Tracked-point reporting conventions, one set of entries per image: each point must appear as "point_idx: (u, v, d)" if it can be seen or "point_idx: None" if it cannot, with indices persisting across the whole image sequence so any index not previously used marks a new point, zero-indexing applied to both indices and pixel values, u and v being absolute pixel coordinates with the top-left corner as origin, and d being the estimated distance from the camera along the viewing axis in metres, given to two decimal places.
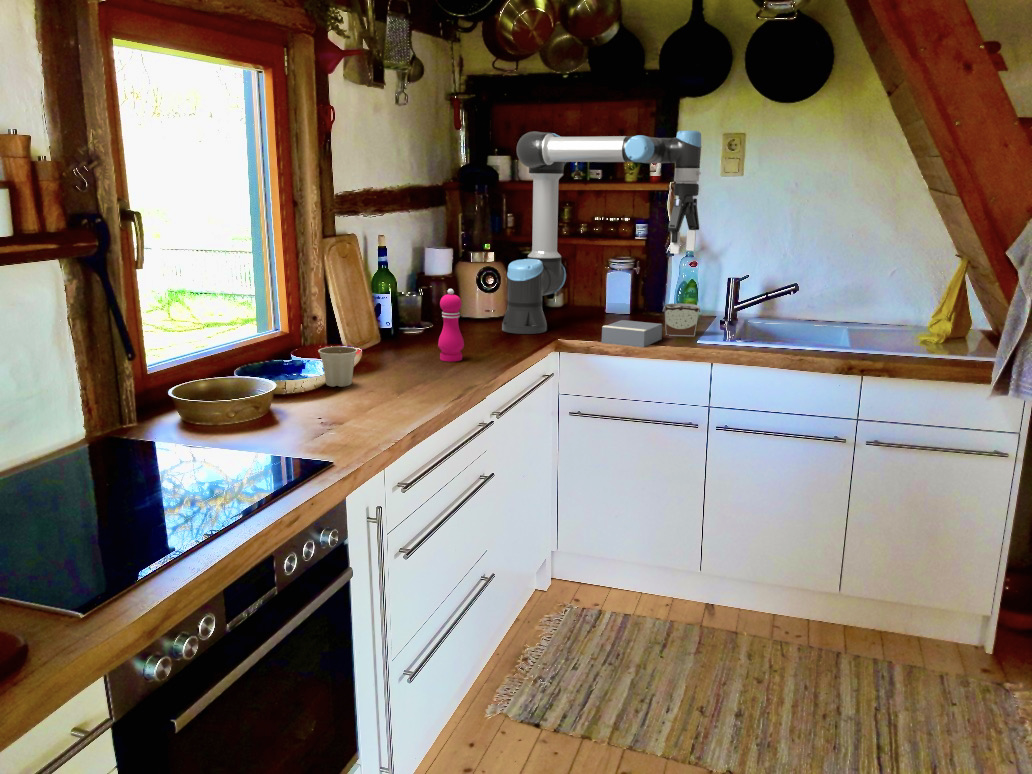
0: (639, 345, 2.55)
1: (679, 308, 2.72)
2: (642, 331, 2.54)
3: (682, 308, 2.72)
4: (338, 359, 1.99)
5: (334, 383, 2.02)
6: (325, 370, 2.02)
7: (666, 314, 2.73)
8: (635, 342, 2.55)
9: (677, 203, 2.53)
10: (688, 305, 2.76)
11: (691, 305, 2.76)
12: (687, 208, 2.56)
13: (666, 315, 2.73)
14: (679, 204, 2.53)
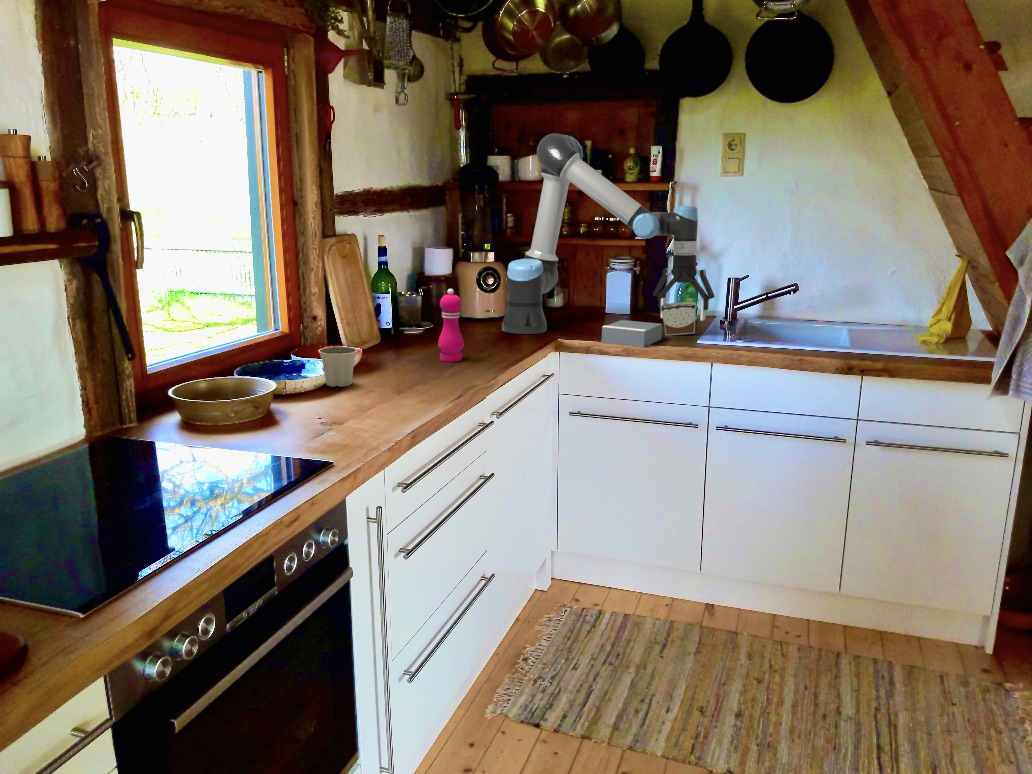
0: (639, 345, 2.55)
1: (676, 307, 2.73)
2: (642, 331, 2.54)
3: (679, 306, 2.73)
4: (338, 359, 1.99)
5: (334, 383, 2.02)
6: (325, 370, 2.02)
7: (663, 314, 2.74)
8: (635, 342, 2.55)
9: None
10: (685, 303, 2.77)
11: (688, 303, 2.76)
12: (674, 277, 2.72)
13: (664, 315, 2.74)
14: None
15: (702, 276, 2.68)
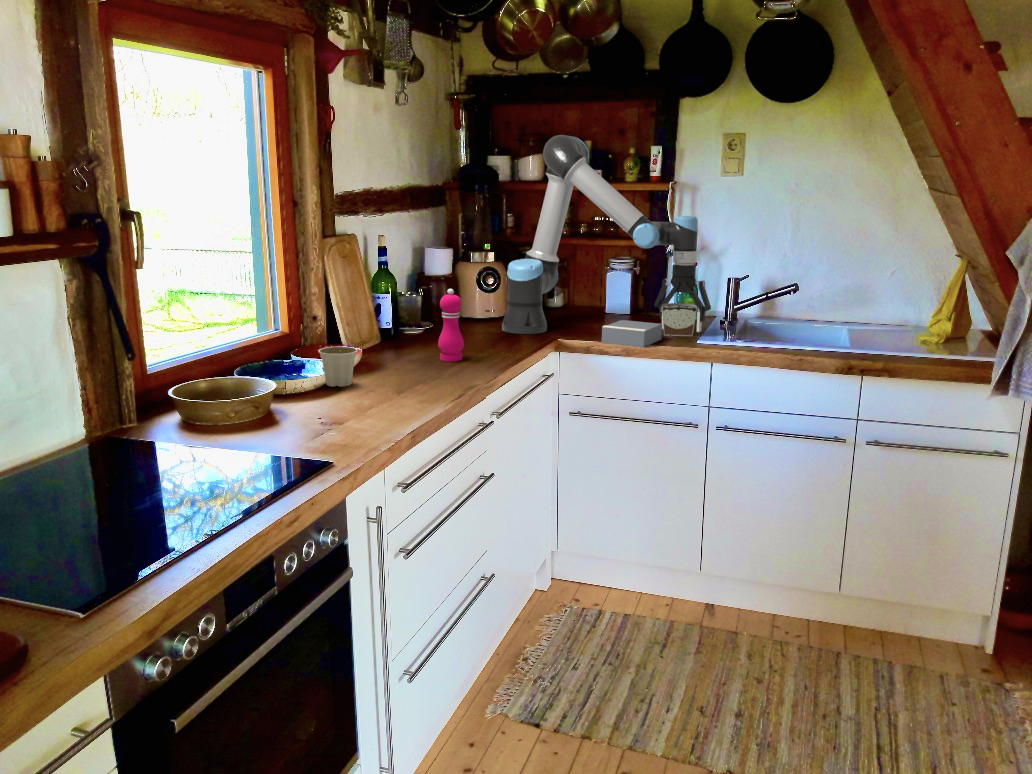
0: (639, 345, 2.55)
1: (677, 308, 2.73)
2: (642, 331, 2.54)
3: (680, 308, 2.72)
4: (338, 359, 1.99)
5: (334, 383, 2.02)
6: (325, 370, 2.02)
7: (664, 314, 2.73)
8: (635, 342, 2.55)
9: None
10: (686, 305, 2.77)
11: (689, 305, 2.76)
12: (674, 287, 2.73)
13: (664, 315, 2.73)
14: None
15: (701, 287, 2.69)
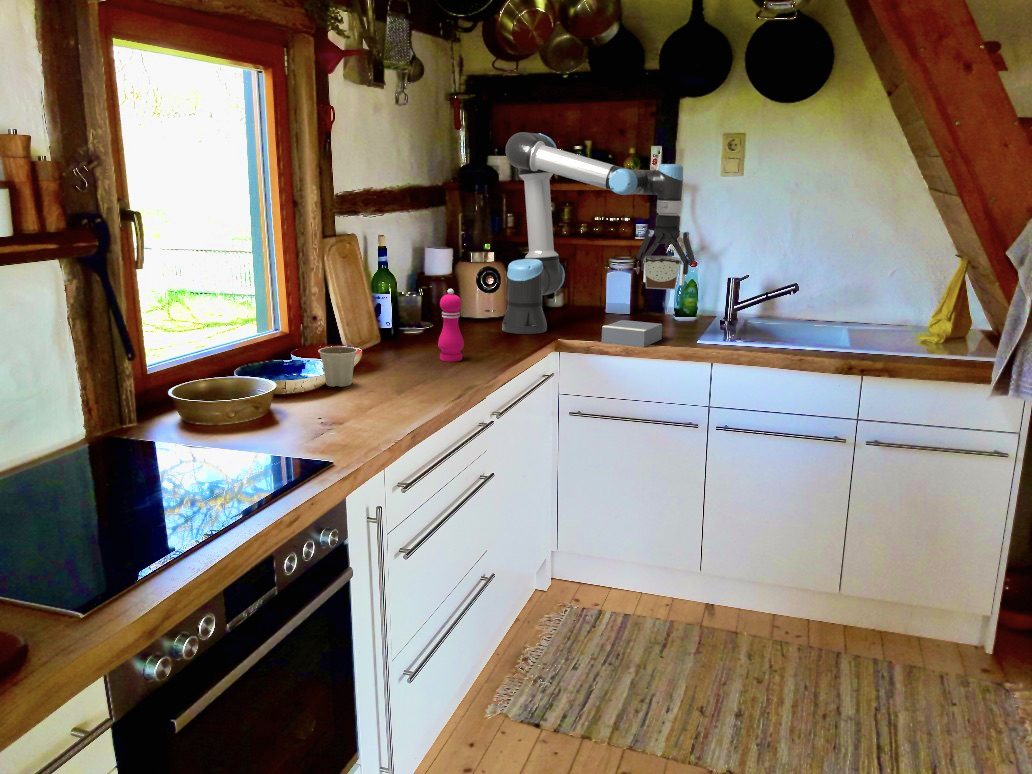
0: (639, 345, 2.55)
1: (660, 260, 2.64)
2: (642, 331, 2.54)
3: (663, 260, 2.64)
4: (338, 359, 1.99)
5: (334, 383, 2.02)
6: (325, 370, 2.02)
7: (646, 266, 2.65)
8: (635, 342, 2.55)
9: None
10: (669, 257, 2.68)
11: (672, 257, 2.68)
12: (657, 239, 2.65)
13: (646, 267, 2.65)
14: None
15: (685, 239, 2.61)
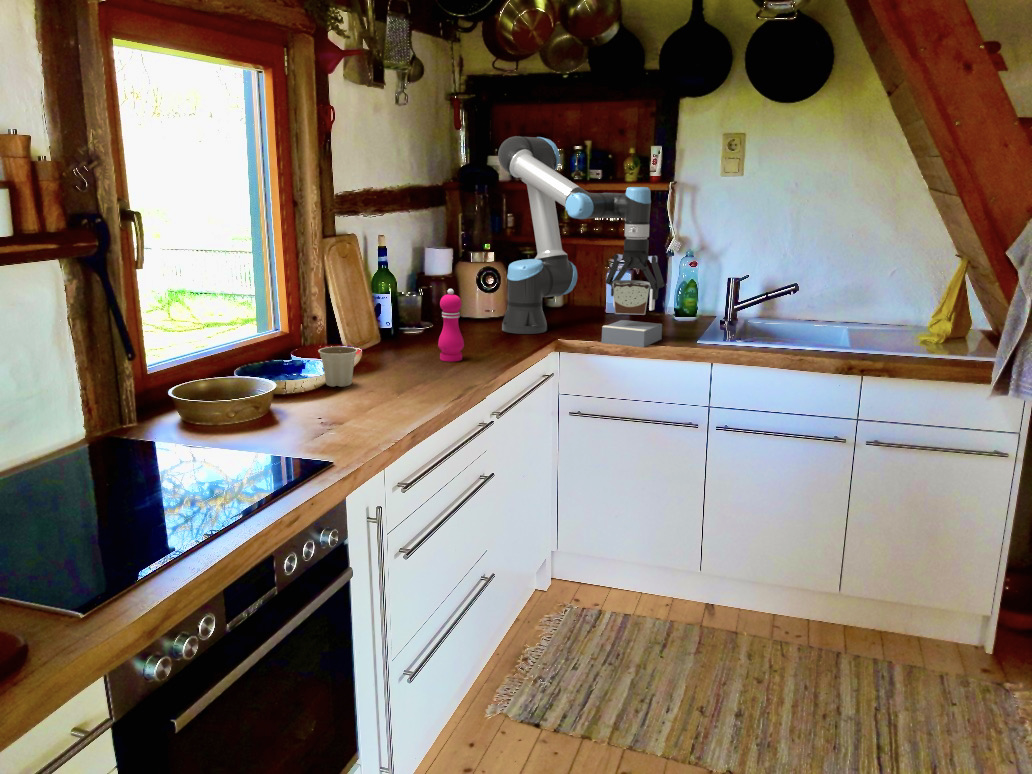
0: (639, 345, 2.55)
1: (628, 285, 2.58)
2: (642, 331, 2.54)
3: (632, 285, 2.58)
4: (338, 359, 1.99)
5: (334, 383, 2.02)
6: (325, 370, 2.02)
7: (615, 291, 2.58)
8: (635, 342, 2.55)
9: None
10: (638, 282, 2.62)
11: (641, 282, 2.61)
12: (626, 263, 2.58)
13: (615, 292, 2.59)
14: None
15: (653, 263, 2.54)
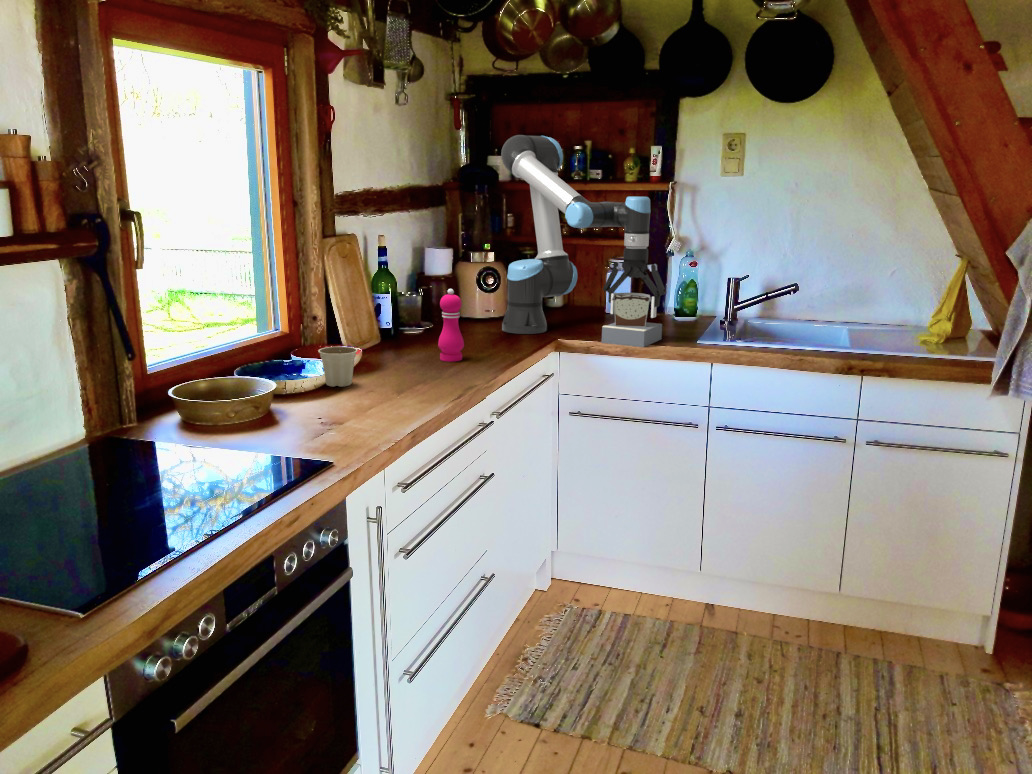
0: (639, 345, 2.55)
1: (629, 297, 2.59)
2: (642, 331, 2.54)
3: (632, 297, 2.59)
4: (338, 359, 1.99)
5: (334, 383, 2.02)
6: (325, 370, 2.02)
7: (615, 304, 2.59)
8: (635, 342, 2.55)
9: None
10: (639, 294, 2.63)
11: (642, 294, 2.62)
12: (625, 272, 2.59)
13: (615, 305, 2.59)
14: None
15: (653, 271, 2.55)
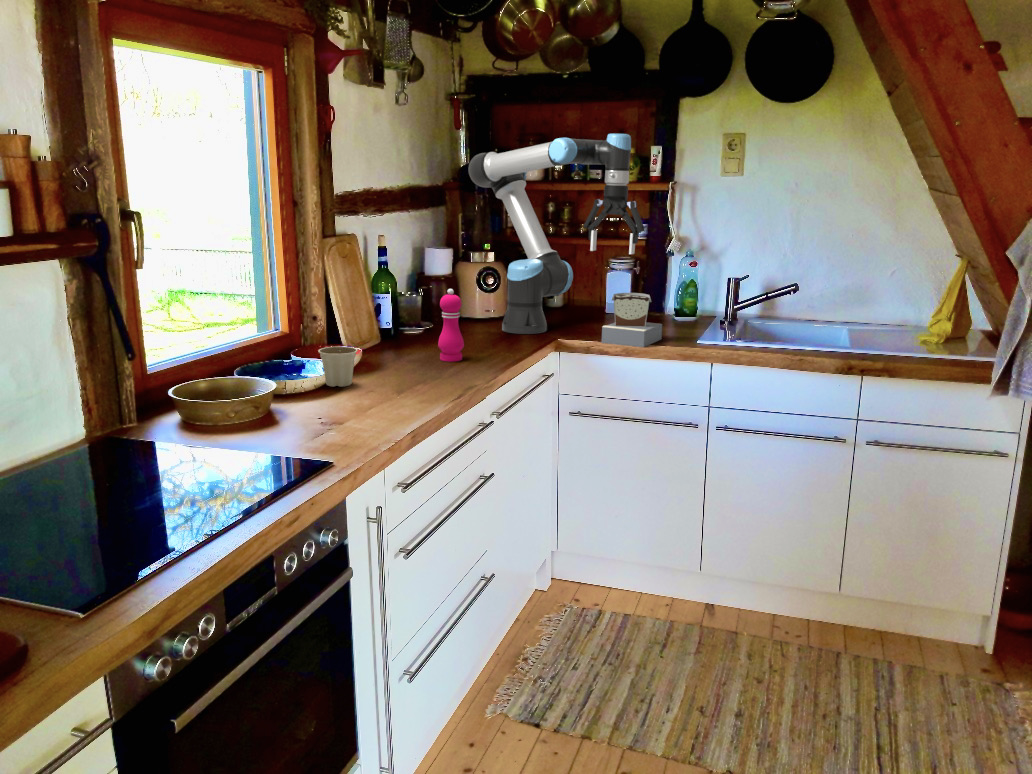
0: (639, 345, 2.55)
1: (628, 297, 2.59)
2: (642, 331, 2.54)
3: (632, 297, 2.59)
4: (338, 359, 1.99)
5: (334, 383, 2.02)
6: (325, 370, 2.02)
7: (615, 304, 2.59)
8: (635, 342, 2.55)
9: None
10: (638, 294, 2.63)
11: (641, 294, 2.62)
12: (605, 209, 2.64)
13: (615, 305, 2.59)
14: None
15: (632, 208, 2.60)
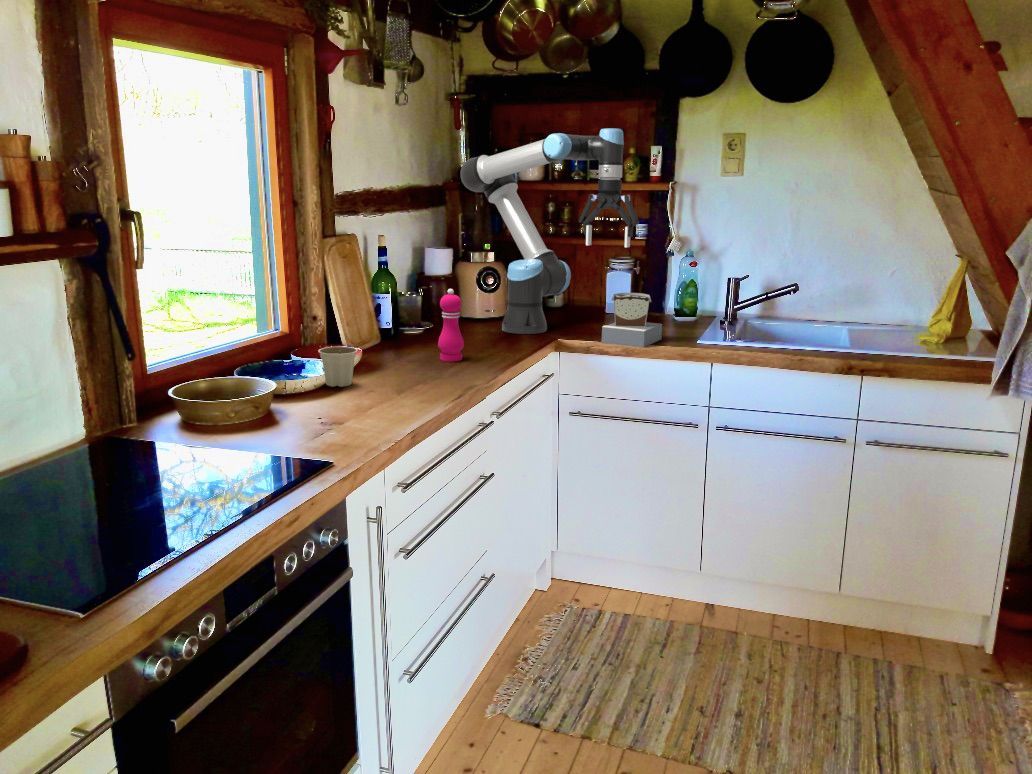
0: (639, 345, 2.55)
1: (628, 297, 2.59)
2: (642, 331, 2.54)
3: (632, 297, 2.59)
4: (338, 359, 1.99)
5: (334, 383, 2.02)
6: (325, 370, 2.02)
7: (615, 304, 2.59)
8: (635, 342, 2.55)
9: None
10: (638, 294, 2.63)
11: (641, 294, 2.62)
12: (599, 203, 2.67)
13: (615, 305, 2.59)
14: None
15: (626, 201, 2.63)
